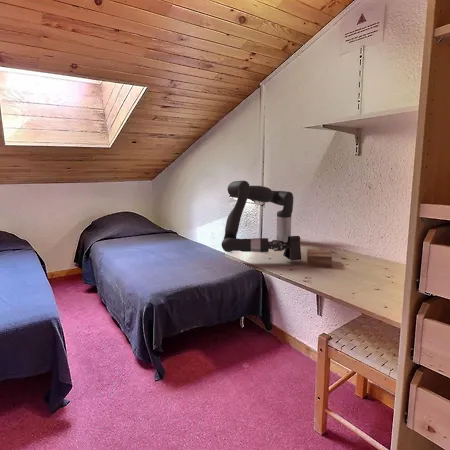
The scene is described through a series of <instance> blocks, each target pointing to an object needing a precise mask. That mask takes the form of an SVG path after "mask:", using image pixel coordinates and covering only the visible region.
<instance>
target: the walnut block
mask: <svg viewBox="0 0 450 450" xmlns="http://www.w3.org/2000/svg"><path fill="white" fill-rule="evenodd" d="M306 254H307V255H306V265H307V267H308V268H309V267H312V268H325V269H327V268H329V269H331V268H332V265H333V264H332V263H333V262H332V261H333V256H332V252H331V250H330V249H329V250H328V249H327V250H325V249H307V252H306Z"/></svg>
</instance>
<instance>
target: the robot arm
mask: <svg viewBox="0 0 450 450" xmlns="http://www.w3.org/2000/svg"><path fill="white" fill-rule="evenodd" d="M226 191H227V193H228V194H229V196H230V197H232V198H235V199H237V200H236V203H235V205H234V206H233V208H232V209H231V211H230V212H229V214H228V215H227V218H226V223H225V227H224V235H223V236H224V237H223V240H222V241H221V248H222V250H223V251H224V252H226V253H232V252H241V253H243V252H244V253H251V252H252V253H268V252H269V250H271V251H274V252H279V251H285V248H291V247H292V246H293V245H292V244H291V245H290V244H287V241H288V236H292V214H293V209H294V193H292V192H291V191H286V190H272V189H271V188H269V187H267V186H263V185H250V183H249V182H248V181H247V180H235V181H232V182H230V183H229V184H228V186H227V189H226ZM247 200H251V201H254V202H255V201H256V202H259V203H272V204H275V205H277V206H283V207H282V210H278V211H276V238H275V239H272V240H270V241H269V238H268V237H266V238H265V237H254V238H238V237H237V236H238V232H239V228H240V224H241V223H240V222H241V218H242V214H243V212H244V209H245V207H246V204H247ZM290 246H291V247H290Z"/></svg>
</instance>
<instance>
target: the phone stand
mask: <svg viewBox="0 0 450 450" xmlns="http://www.w3.org/2000/svg"><path fill="white" fill-rule="evenodd" d="M287 244H290V245H291V244H292V245H293V246H292V247H291V246H290V247H291V248H285V249H284V250H283V254H282V256H283V257H284V258H286V259H288V260H290V261H291V262H292V261H302V252H301V251H302V250H301V248H302V247H301V237H300V235H291V236H288V241H287Z"/></svg>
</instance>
